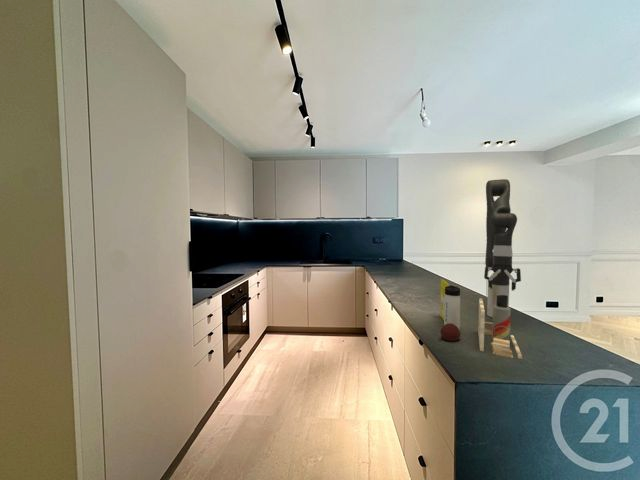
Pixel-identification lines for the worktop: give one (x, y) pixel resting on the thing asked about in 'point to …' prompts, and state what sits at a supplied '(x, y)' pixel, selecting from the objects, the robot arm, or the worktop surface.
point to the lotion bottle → (501, 318)
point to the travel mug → (452, 305)
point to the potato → (450, 332)
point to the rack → (489, 330)
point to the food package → (442, 297)
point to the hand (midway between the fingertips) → (501, 289)
